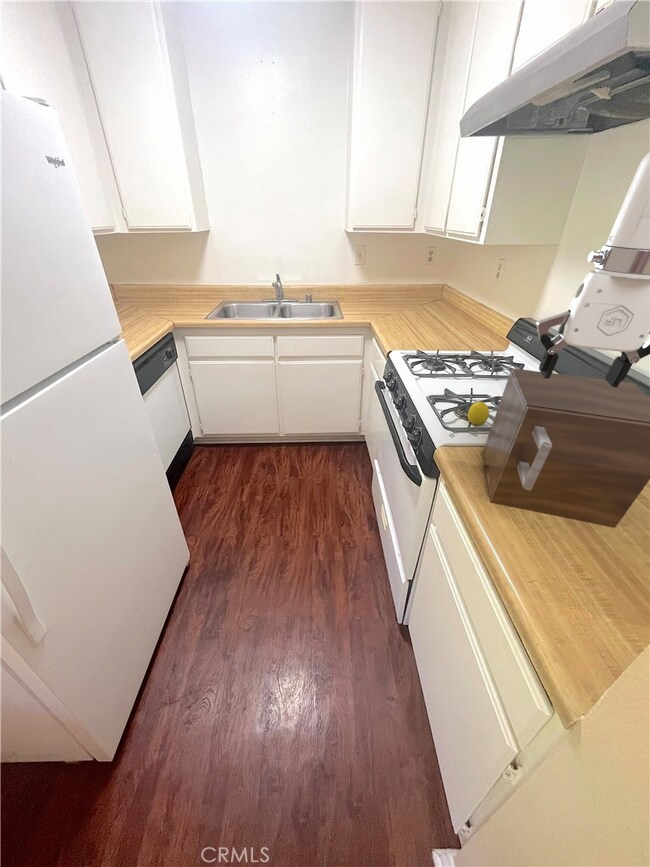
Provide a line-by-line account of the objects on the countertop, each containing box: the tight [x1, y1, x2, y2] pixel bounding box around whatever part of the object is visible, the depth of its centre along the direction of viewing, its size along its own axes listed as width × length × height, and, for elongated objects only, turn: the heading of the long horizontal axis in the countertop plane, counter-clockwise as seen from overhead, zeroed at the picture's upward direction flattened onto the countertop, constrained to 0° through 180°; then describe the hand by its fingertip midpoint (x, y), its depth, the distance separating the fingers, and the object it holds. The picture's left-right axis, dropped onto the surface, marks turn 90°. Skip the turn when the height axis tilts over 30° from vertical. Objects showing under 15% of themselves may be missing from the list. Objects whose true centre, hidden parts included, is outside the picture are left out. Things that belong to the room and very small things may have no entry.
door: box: [489, 406, 650, 529], centre depth 64 cm, size 8×24×24 cm, turn 74°
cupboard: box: [483, 368, 650, 499], centre depth 75 cm, size 18×24×24 cm
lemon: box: [467, 401, 490, 426], centre depth 101 cm, size 6×6×8 cm
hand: (576, 379), depth 56 cm, fingers open, 9 cm apart
